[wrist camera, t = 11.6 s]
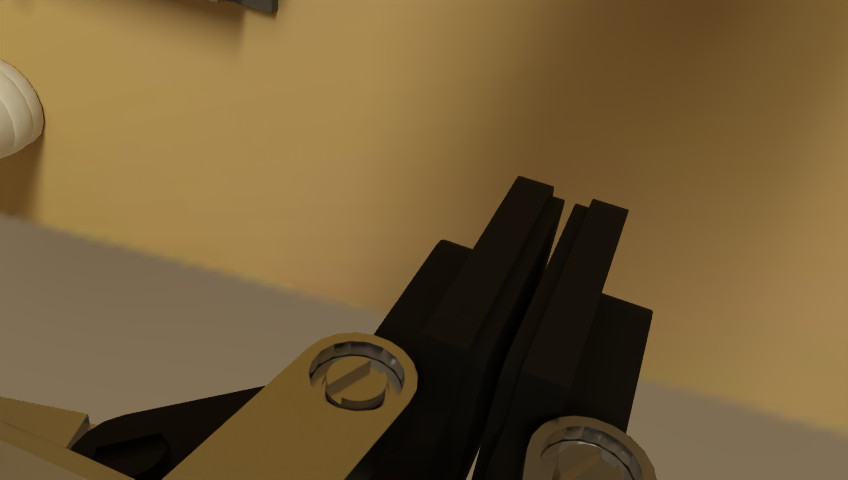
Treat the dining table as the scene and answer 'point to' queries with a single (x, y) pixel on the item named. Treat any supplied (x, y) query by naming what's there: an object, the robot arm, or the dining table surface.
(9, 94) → the bottle
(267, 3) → the cradle
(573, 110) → the dining table surface
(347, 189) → the dining table surface
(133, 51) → the dining table surface
